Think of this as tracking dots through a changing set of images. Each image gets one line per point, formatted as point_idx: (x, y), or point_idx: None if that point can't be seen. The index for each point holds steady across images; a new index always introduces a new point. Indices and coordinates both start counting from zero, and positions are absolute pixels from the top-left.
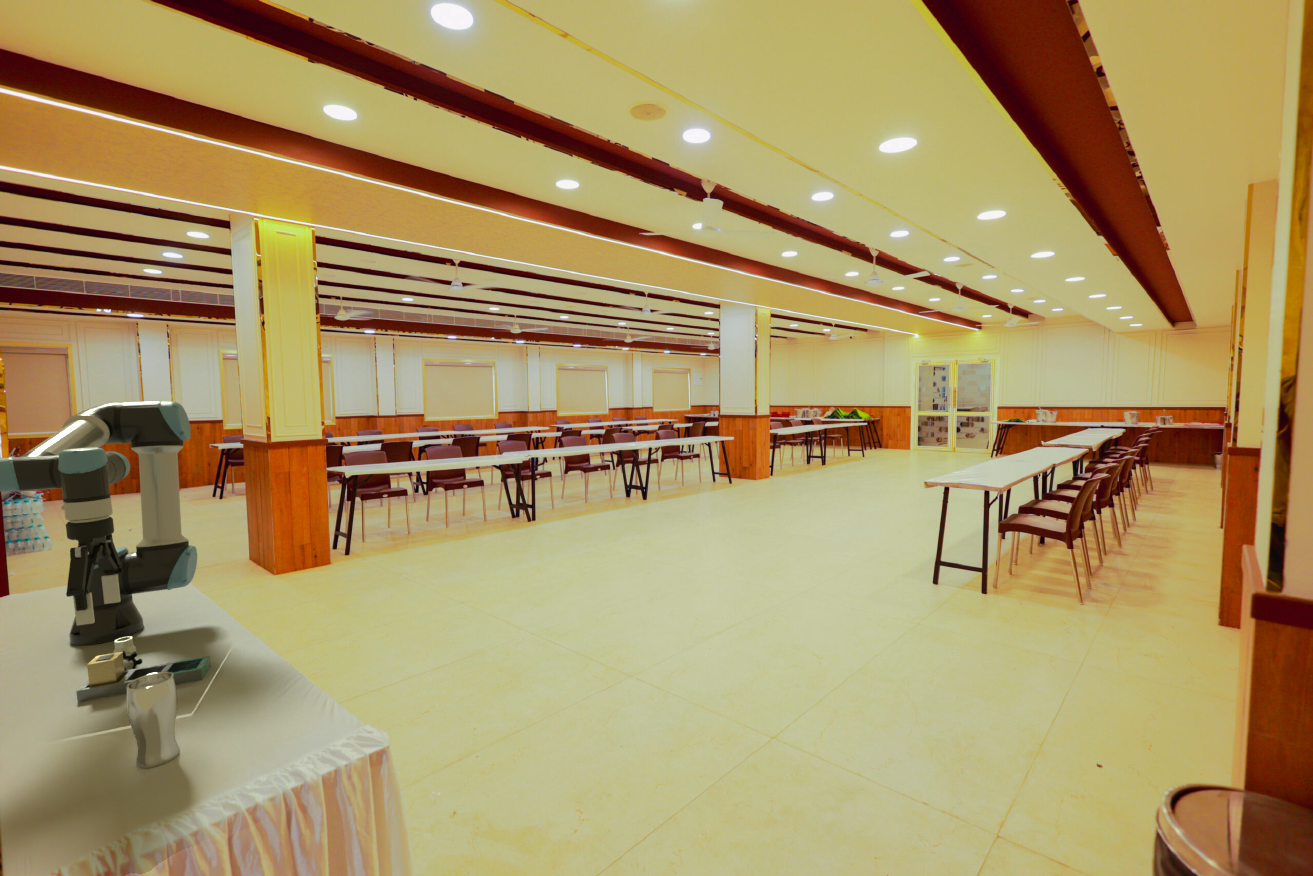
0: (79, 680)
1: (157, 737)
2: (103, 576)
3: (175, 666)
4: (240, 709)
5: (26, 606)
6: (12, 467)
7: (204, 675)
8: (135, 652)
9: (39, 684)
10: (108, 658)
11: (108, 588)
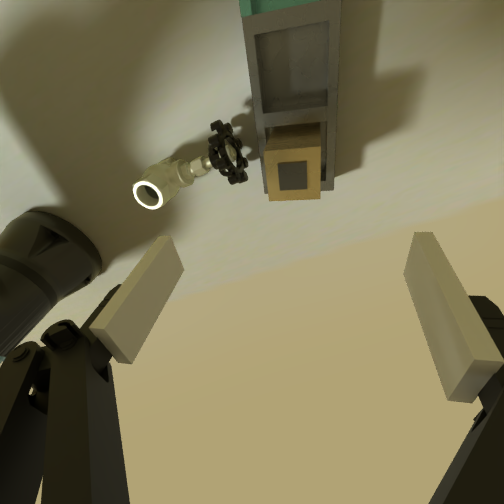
0: (224, 217)
1: None
2: (128, 360)
3: (252, 9)
4: None
5: None
6: None
7: None
8: (212, 140)
9: (223, 260)
10: (306, 164)
11: (153, 301)
